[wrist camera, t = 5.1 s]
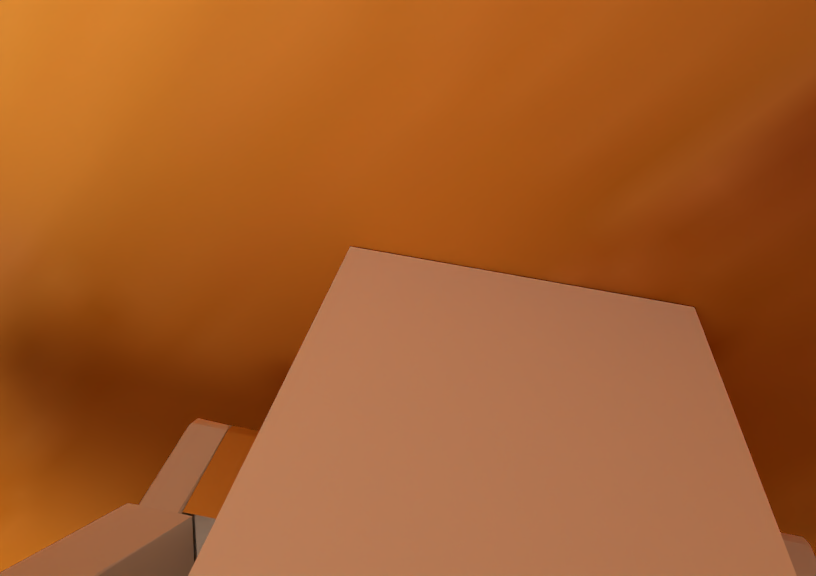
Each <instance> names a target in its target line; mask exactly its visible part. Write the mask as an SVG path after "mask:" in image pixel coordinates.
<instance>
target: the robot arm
mask: <svg viewBox="0 0 816 576" xmlns="http://www.w3.org/2000/svg"><path fill="white" fill-rule="evenodd" d="M258 433H259V431H258V430H253V429H248V428H244V427H239V426H235V425H233V426H231V425H226V424H222V423H218V422H213V421H209V420H205V419H200V418H197V419H196V420H195V421H194V422H192V423H191V424H190V425H189V426H188V427H187V429H186V431H185V432H184V434H183V435H182V437H181V438H180V440H179V442H178V443H177V445H176V446H175V448H174V449H173V451H172V453H171V454H170V456H169V457H168V459H167V461H166V462H165V464H164V465H163V467H162V468H161V470H160V472H159V473H158V475H157V476H156V478H155V480H154V481H153V483H152V484H151V486H150V487H149V489H148V491H147V492H146V494H145V495H144V497H143V499H142V500H141V502H140V503H139V505H137V504H131V503H126V504H125V505H123V506H121V507H119V508H117V509H115V510H114V511H112V512H110V513H108V514H106V515H104V516H103V517H101V518H99V519H97V520H95V521H93V522H92V523H90V524H88V525H86V526H84V527H82V528H81V529H79V530H77V531H75V532H73V533H72V534H70V535H68V536H66V537H64V538H62V539H61V540H59V541H57V542H55V543H53V544H51V545H50V546H48V547H46V548H44V549H42V550H40V551H39V552H37V553H35V554H33V555H31V556H29V557H28V558H26V559H24V560H22V561H20V562H19V563H17V564H15V565H13V566H11V567H9V568H8V569H6V570H4V571H2V572H0V576H188V575H189V573H190V571H191V569H192V567H193V565H194V563H195V561H196V559H197V557H198V555H199V553H200V550H201V548H202V546H203V544H204V542H205V540H206V538H207V536H208V534H209V532H210V530H211V528H212V526H213V524H214V522H215V520H216V518H217V516H218V514H219V512H220V510H221V508H222V506H223V504H224V502H225V500H226V498H227V496H228V494H229V492H230V490H231V488H232V486H233V483H234V481H235V479H236V477H237V475H238V473H239V471H240V469H241V467H242V465H243V463H244V461H245V459H246V457H247V455H248V453H249V451H250V449H251V447H252V445H253V443H254V441H255V439H256V437H257V435H258ZM781 536H782V538H783V541H784V544H785V546H786V549H787V551H788V554H789V557H790V559H791V562H792V565H793V567H794V570H795V572H796V575H797V576H816V557H815V555H814V552H813V550H812V548H811V546H810V544H809V543H808V542H807V541H806V540H805V539H804V538H803V537H802V536H796V535H791V534H785V533H781Z"/></svg>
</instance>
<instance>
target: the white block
mask: <svg viewBox="0 0 816 576" xmlns="http://www.w3.org/2000/svg"><path fill="white" fill-rule="evenodd" d="M188 576H797V575H796V572H795V570H794V567H793V565H792V562H791V559H790V557H789V554H788V551H787V549H786V546H785V544H784V541H783V538H782V536H781V533H780V530H779V528H778V525H777V523H776V520H775V517H774V515H773V512H772V509H771V507H770V504H769V502H768V499H767V496H766V494H765V491H764V488H763V486H762V483H761V481H760V478H759V475H758V473H757V470H756V467H755V465H754V462H753V460H752V457H751V454H750V452H749V449H748V446H747V444H746V441H745V439H744V436H743V433H742V431H741V428H740V426H739V423H738V420H737V418H736V415H735V412H734V410H733V407H732V405H731V402H730V399H729V397H728V394H727V391H726V389H725V386H724V384H723V381H722V378H721V376H720V373H719V370H718V368H717V365H716V363H715V360H714V357H713V355H712V352H711V349H710V347H709V344H708V342H707V339H706V336H705V334H704V331H703V328H702V326H701V323H700V321H699V318H698V315H697V313H696V310H695V307H691V306H685V305H680V304H674V303H668V302H663V301H657V300H651V299H646V298H640V297H634V296H629V295H623V294H617V293H612V292H606V291H600V290H595V289H589V288H583V287H578V286H572V285H566V284H561V283H555V282H549V281H544V280H538V279H532V278H527V277H521V276H515V275H510V274H504V273H498V272H493V271H487V270H481V269H476V268H470V267H464V266H459V265H453V264H447V263H442V262H436V261H430V260H425V259H419V258H413V257H408V256H402V255H396V254H391V253H385V252H379V251H374V250H368V249H362V248H357V247H351V246H350V248H349V250H348V252H347V254H346V256H345V258H344V260H343V262H342V264H341V266H340V268H339V270H338V272H337V274H336V276H335V278H334V280H333V283H332V285H331V287H330V289H329V291H328V293H327V295H326V297H325V299H324V301H323V303H322V305H321V307H320V309H319V311H318V313H317V315H316V317H315V319H314V321H313V323H312V325H311V327H310V329H309V331H308V333H307V335H306V337H305V339H304V341H303V343H302V345H301V347H300V350H299V352H298V354H297V356H296V358H295V360H294V362H293V364H292V366H291V368H290V370H289V372H288V374H287V376H286V378H285V380H284V382H283V384H282V386H281V388H280V390H279V392H278V394H277V396H276V398H275V400H274V402H273V404H272V406H271V408H270V410H269V412H268V414H267V416H266V419H265V421H264V423H263V425H262V427H261V429H260V431H259V433H258V435H257V437H256V439H255V441H254V443H253V445H252V447H251V449H250V451H249V453H248V455H247V457H246V459H245V461H244V463H243V465H242V467H241V469H240V471H239V473H238V475H237V477H236V479H235V481H234V483H233V486H232V488H231V490H230V492H229V494H228V496H227V498H226V500H225V502H224V504H223V506H222V508H221V510H220V512H219V514H218V516H217V518H216V520H215V522H214V524H213V526H212V528H211V530H210V532H209V534H208V536H207V538H206V540H205V542H204V544H203V546H202V548H201V550H200V553H199V555H198V557H197V559H196V561H195V563H194V565H193V567H192V569H191V571H190V573H189V575H188Z"/></svg>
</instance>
